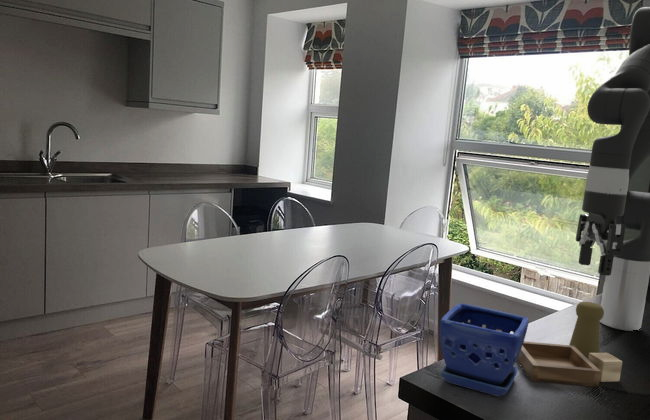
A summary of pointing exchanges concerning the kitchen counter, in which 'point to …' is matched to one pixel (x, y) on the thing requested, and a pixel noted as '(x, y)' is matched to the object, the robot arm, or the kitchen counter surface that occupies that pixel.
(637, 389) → the kitchen counter surface
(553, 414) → the kitchen counter surface
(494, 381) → the flower pot
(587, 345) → the cork
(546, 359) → the tray
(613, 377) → the beech block
